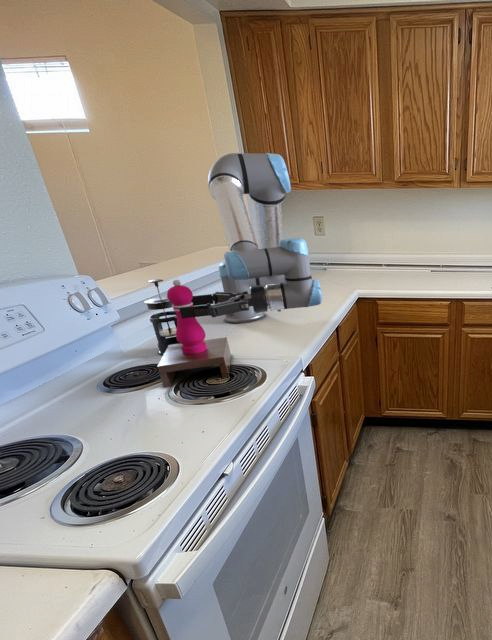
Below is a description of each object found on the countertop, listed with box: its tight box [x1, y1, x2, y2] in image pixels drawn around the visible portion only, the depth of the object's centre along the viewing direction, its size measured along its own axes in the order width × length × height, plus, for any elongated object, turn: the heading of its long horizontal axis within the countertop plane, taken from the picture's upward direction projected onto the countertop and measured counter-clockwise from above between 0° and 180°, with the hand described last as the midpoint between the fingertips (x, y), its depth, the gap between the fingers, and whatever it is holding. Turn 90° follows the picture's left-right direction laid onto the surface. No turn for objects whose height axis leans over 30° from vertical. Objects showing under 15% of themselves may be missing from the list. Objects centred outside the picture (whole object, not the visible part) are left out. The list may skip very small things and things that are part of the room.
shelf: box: [156, 337, 232, 388], centre depth 119 cm, size 18×16×6 cm
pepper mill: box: [166, 279, 207, 354], centre depth 114 cm, size 7×7×20 cm
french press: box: [144, 278, 181, 356], centre depth 132 cm, size 12×9×23 cm
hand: (184, 307), depth 113 cm, fingers open, 13 cm apart
